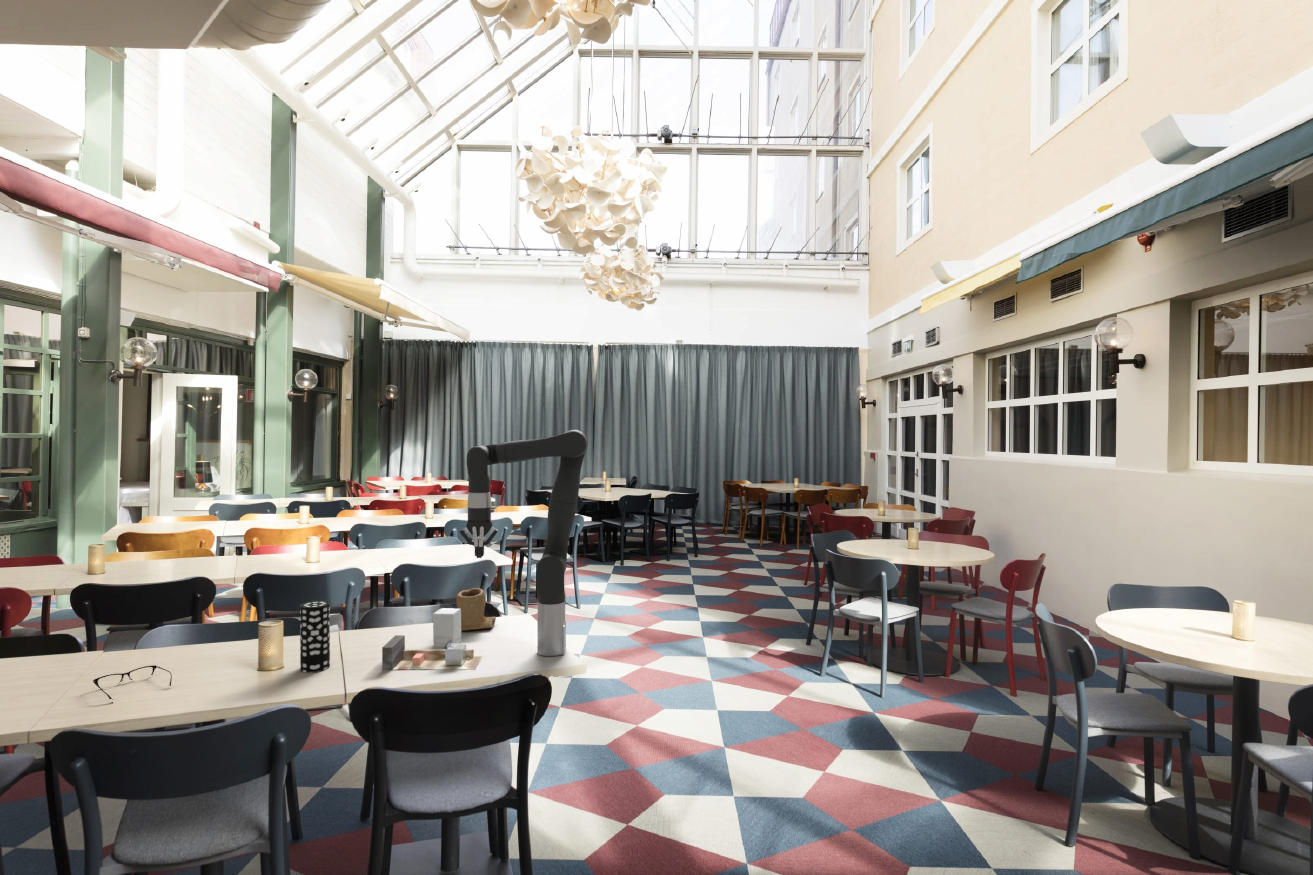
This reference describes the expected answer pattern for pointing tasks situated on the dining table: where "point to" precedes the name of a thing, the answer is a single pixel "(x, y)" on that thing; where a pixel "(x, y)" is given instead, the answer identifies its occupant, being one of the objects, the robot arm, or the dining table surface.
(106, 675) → the eyeglasses
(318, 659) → the white-spotted black cylinder
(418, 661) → the pink eraser
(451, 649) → the carriage
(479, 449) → the robot arm
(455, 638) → the supplement box
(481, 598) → the tan piece
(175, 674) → the dining table surface
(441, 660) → the beige long open tray
